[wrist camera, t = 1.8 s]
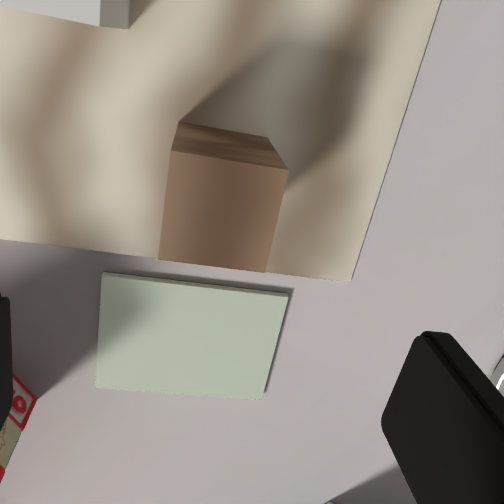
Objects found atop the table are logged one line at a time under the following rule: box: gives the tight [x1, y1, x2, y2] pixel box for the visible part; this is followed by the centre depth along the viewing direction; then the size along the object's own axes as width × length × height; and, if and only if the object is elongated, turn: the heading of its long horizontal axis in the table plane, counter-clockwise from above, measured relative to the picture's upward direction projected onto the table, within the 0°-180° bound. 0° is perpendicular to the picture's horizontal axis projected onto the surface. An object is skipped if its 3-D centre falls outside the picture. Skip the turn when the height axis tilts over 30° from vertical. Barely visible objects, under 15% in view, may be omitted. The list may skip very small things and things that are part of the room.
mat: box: [95, 272, 288, 400], centre depth 31 cm, size 12×9×1 cm
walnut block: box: [158, 122, 289, 273], centre depth 23 cm, size 5×5×7 cm
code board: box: [0, 0, 441, 283], centre depth 24 cm, size 22×20×1 cm
